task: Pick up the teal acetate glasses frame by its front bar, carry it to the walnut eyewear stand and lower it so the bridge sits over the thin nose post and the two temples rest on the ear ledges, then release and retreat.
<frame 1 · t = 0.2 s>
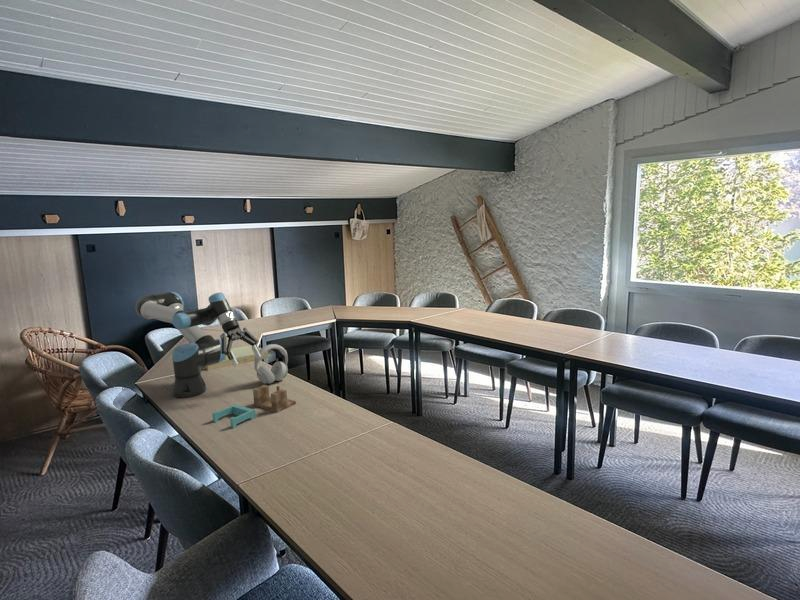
hand: (247, 361, 222), 16 cm above the table, tool tilted 35°, fingers open, 13 cm apart
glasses: (243, 415, 199), on the table
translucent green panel: (232, 360, 282), on the table
headphones: (273, 382, 240), on the table
stand: (275, 404, 210), on the table
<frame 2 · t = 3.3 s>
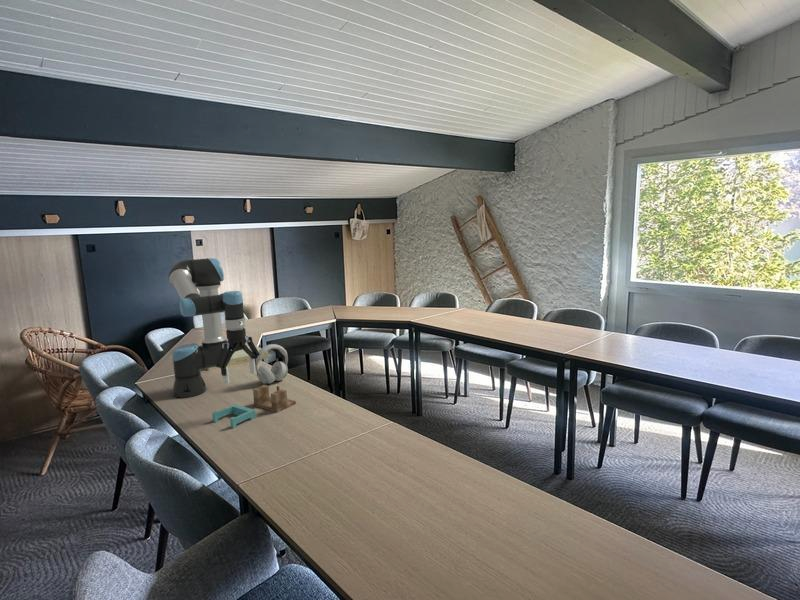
hand: (240, 377, 196), 17 cm above the table, tool pointing down, fingers open, 13 cm apart
nothing on the table moved.
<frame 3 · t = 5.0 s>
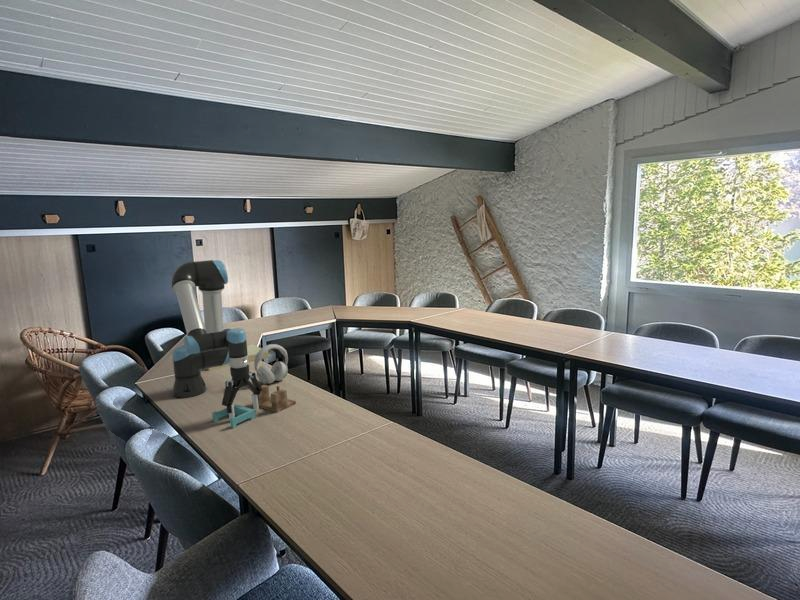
hand: (244, 414, 199), 1 cm above the table, tool pointing down, fingers open, 12 cm apart
nothing on the table moved.
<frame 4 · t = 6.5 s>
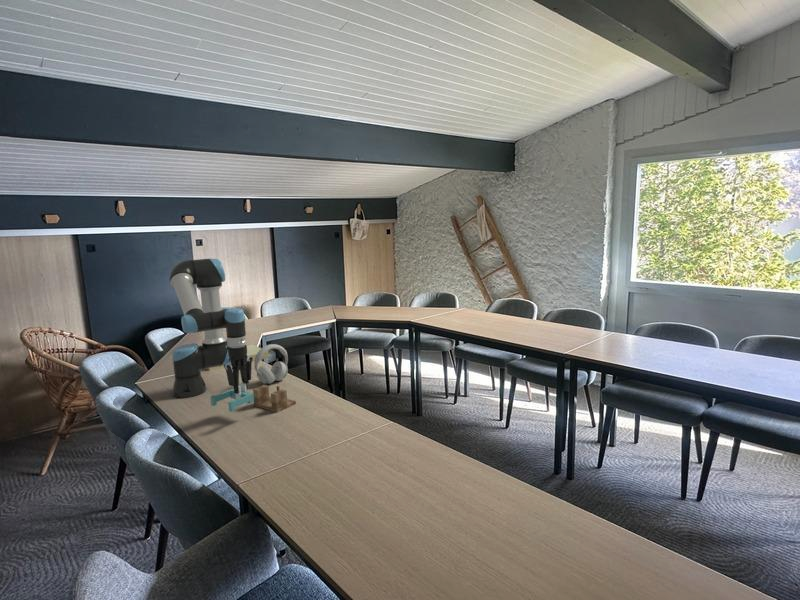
hand: (241, 398, 198), 8 cm above the table, tool pointing down, fingers closed on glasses, 2 cm apart
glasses: (242, 399, 198), point 7 cm above the table, touching gripper
everything else where it was.
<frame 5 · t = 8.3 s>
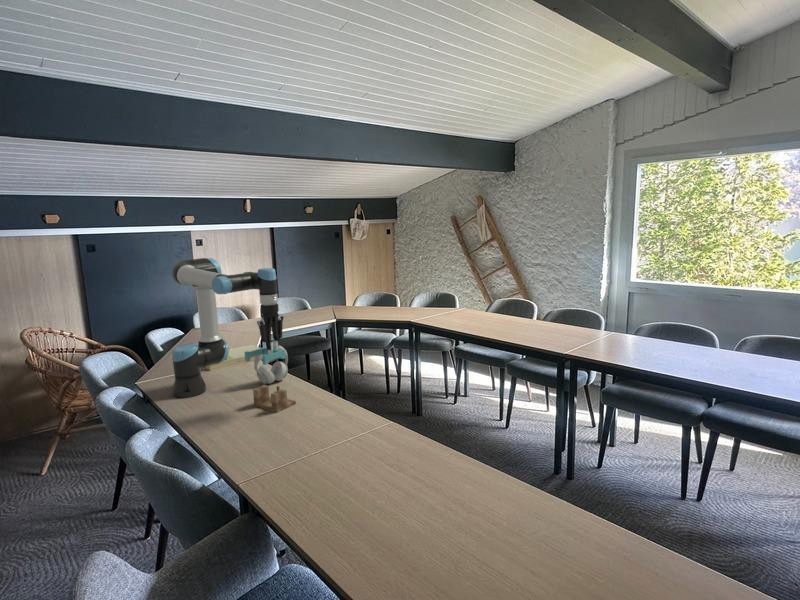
hand: (273, 355, 207), 23 cm above the table, tool pointing down, fingers closed on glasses, 2 cm apart
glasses: (273, 356, 207), point 22 cm above the table, touching gripper
everything else where it was.
when the fingers open (8 cm above the table, at t = 10.5 s): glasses stays where it is, resting on stand.
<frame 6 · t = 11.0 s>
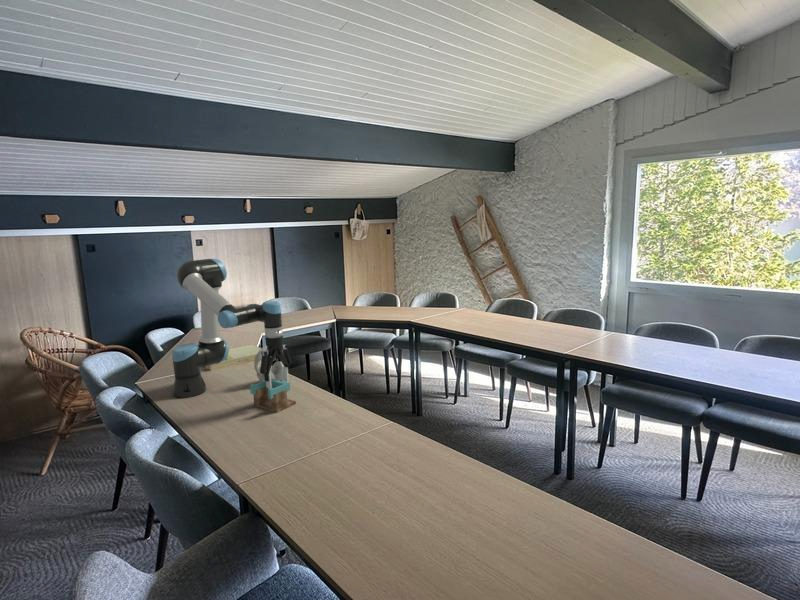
hand: (277, 384, 210), 9 cm above the table, tool pointing down, fingers open, 9 cm apart
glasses: (278, 388, 210), point 7 cm above the table, touching stand
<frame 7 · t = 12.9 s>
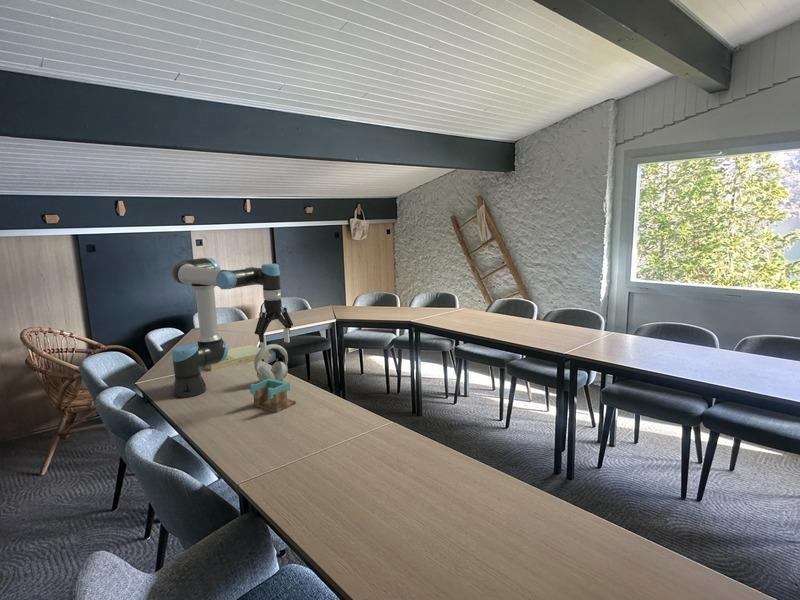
hand: (275, 345, 209), 27 cm above the table, tool pointing down, fingers open, 13 cm apart
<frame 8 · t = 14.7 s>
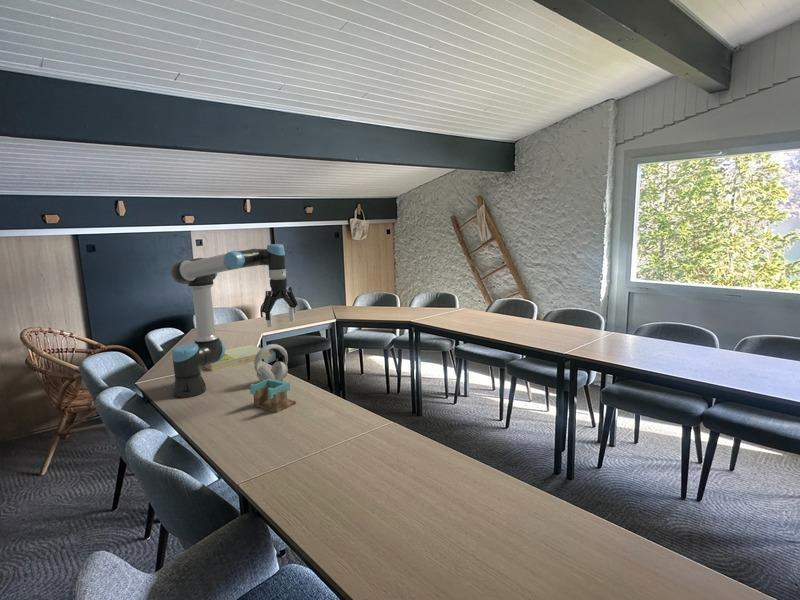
hand: (281, 324, 215), 35 cm above the table, tool pointing down, fingers open, 13 cm apart
at the end: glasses 0.2 cm from the target spot on the stand, point 6.9 cm above the stand's base; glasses tilted 0°; the gripper is holding nothing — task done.
